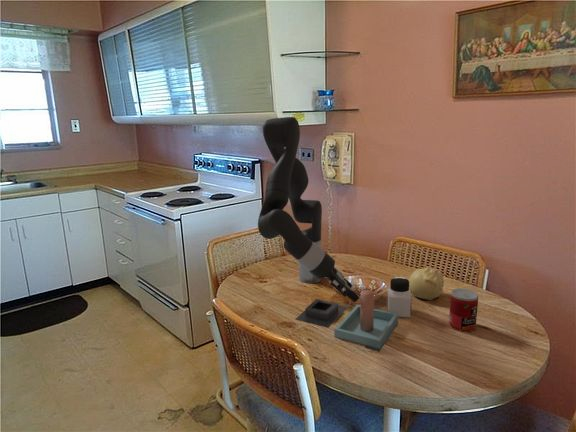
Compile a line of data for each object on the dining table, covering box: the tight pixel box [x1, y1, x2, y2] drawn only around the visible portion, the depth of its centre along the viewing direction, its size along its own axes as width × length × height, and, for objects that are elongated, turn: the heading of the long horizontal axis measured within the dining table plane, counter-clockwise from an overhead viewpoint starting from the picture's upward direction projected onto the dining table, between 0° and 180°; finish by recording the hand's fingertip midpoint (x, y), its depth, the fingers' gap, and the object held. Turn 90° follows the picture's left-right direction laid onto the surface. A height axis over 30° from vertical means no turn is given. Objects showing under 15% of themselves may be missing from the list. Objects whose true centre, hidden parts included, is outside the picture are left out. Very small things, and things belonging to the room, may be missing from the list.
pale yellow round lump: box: [408, 266, 445, 301], centre depth 149 cm, size 11×12×11 cm
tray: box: [333, 304, 399, 353], centre depth 127 cm, size 18×14×4 cm
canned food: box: [448, 288, 479, 332], centre depth 128 cm, size 8×8×11 cm
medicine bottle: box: [387, 276, 412, 318], centre depth 137 cm, size 7×7×12 cm
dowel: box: [360, 289, 375, 332], centre depth 126 cm, size 4×4×12 cm
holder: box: [294, 298, 348, 329], centre depth 138 cm, size 16×12×4 cm
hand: (353, 293), depth 124 cm, fingers open, 8 cm apart
